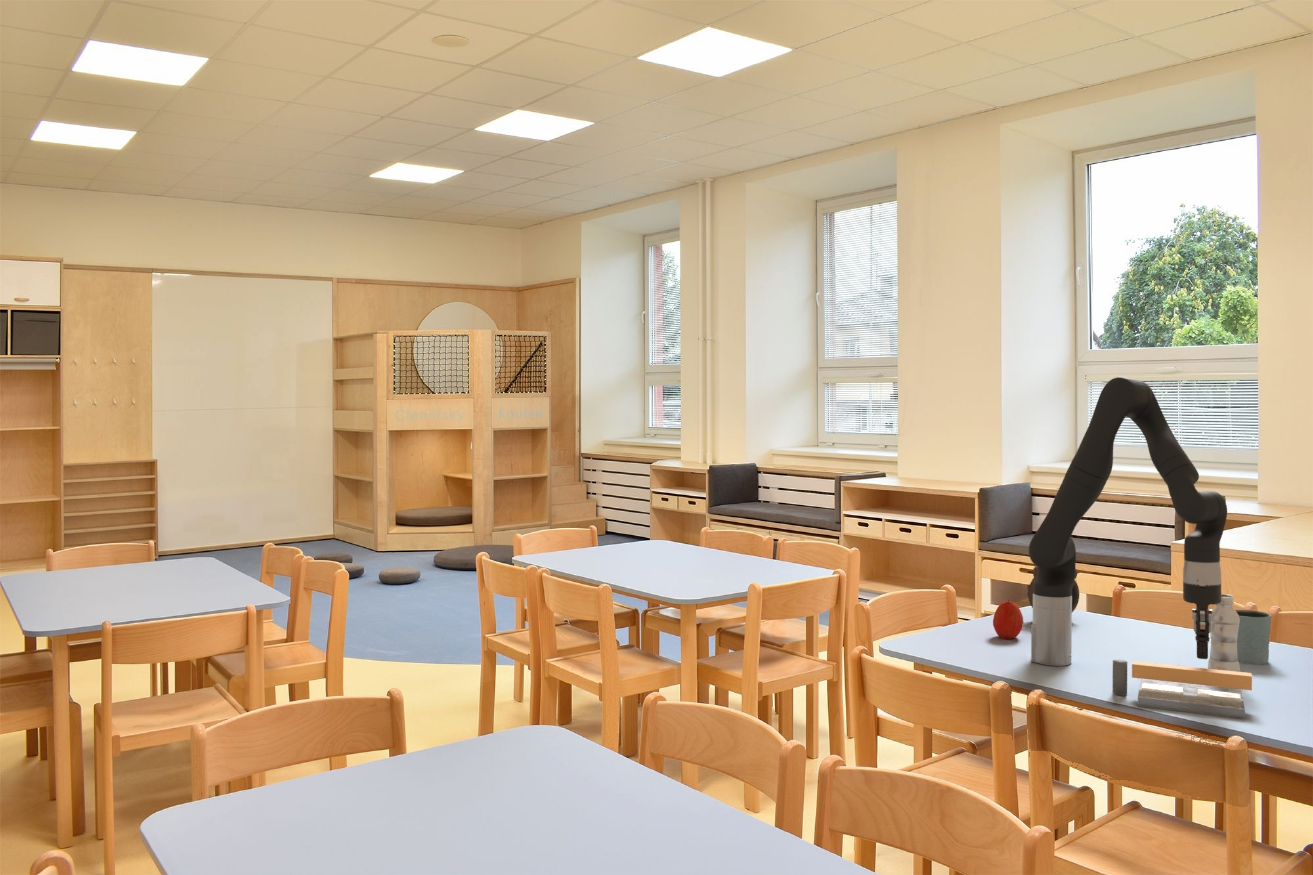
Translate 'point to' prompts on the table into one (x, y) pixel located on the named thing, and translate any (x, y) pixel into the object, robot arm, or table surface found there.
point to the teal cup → (1253, 637)
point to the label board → (1191, 698)
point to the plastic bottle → (1224, 636)
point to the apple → (1008, 620)
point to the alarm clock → (1074, 590)
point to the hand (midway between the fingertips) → (1202, 658)
